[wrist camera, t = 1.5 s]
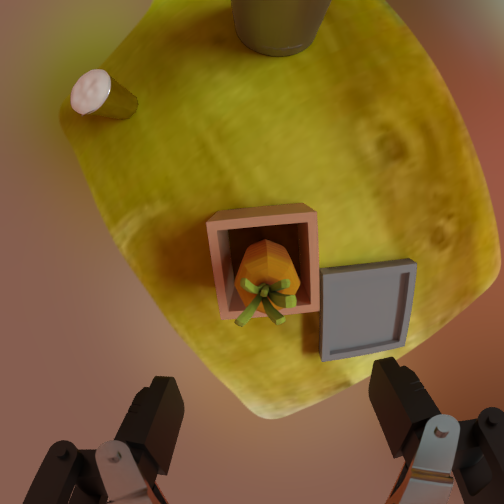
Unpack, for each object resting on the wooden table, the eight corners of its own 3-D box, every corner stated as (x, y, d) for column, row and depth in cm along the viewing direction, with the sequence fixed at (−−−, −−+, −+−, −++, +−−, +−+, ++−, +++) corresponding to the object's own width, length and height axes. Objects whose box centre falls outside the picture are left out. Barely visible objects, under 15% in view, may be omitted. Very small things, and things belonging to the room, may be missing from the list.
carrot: (242, 269, 31) (229, 349, 16) (241, 225, 29) (224, 276, 15) (287, 268, 31) (308, 348, 16) (287, 225, 29) (314, 274, 15)
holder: (218, 210, 29) (206, 222, 22) (303, 202, 29) (316, 211, 22) (228, 289, 31) (221, 319, 25) (307, 282, 31) (319, 311, 24)
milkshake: (116, 137, 27) (64, 128, 17) (107, 100, 25) (57, 80, 16) (149, 120, 26) (104, 102, 17) (139, 82, 25) (95, 54, 15)
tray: (319, 268, 31) (323, 274, 29) (409, 258, 30) (417, 263, 28) (318, 352, 34) (321, 361, 32) (398, 338, 33) (404, 346, 31)
